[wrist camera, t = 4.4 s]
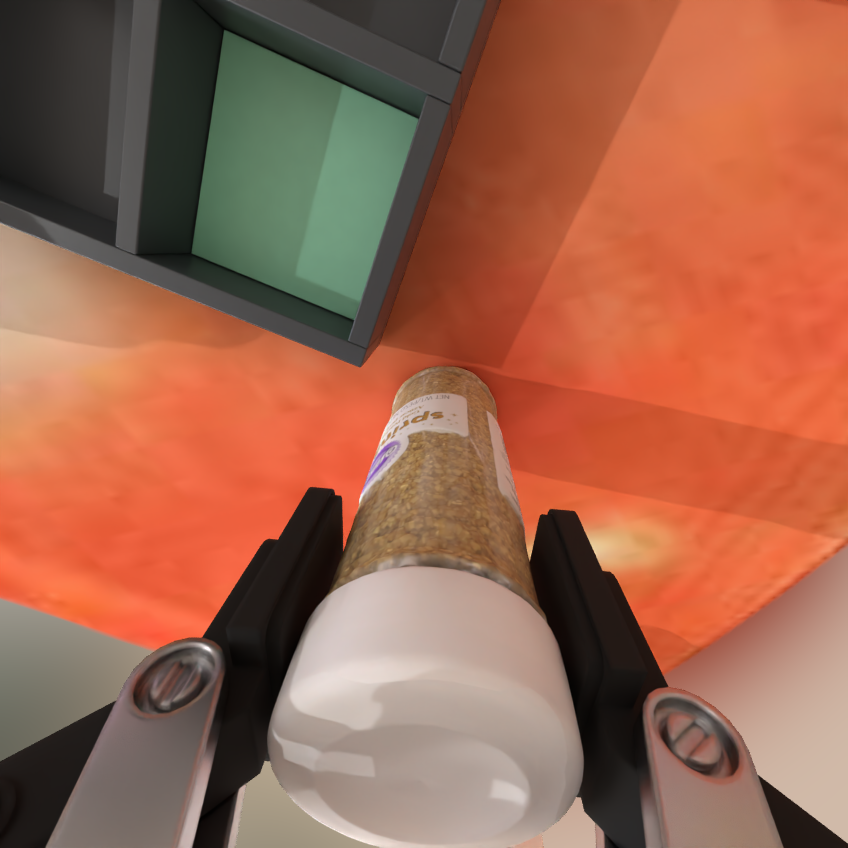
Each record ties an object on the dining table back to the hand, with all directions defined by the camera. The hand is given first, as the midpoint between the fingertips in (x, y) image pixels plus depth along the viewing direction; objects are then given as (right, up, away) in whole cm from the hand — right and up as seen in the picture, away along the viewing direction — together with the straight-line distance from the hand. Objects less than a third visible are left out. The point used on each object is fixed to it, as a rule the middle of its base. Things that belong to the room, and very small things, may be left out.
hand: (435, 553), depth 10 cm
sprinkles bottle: (+1, +4, +8) cm, 9 cm away
